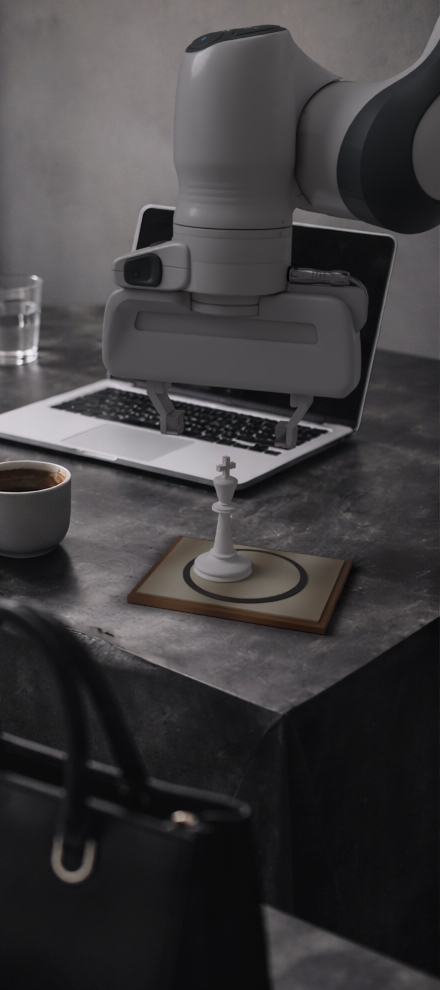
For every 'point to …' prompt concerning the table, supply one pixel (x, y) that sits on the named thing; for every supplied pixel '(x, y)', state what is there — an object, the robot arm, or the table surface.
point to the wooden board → (248, 586)
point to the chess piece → (223, 535)
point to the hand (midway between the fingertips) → (228, 439)
